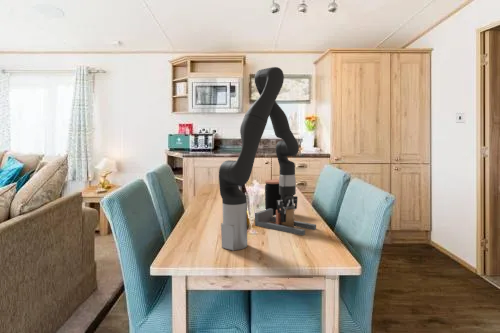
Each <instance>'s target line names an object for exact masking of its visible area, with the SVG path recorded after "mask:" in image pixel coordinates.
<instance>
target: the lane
mask: <svg viewBox="0 0 500 333" xmlns="http://www.w3.org/2000/svg"><path fill="white" fill-rule="evenodd" d="M254 226H256V227H260V228H265V229H271V230H275V231H279V232H280V231H281V232H284V233H289V234H294V235H299V236H304V235H306V229H307V230H312V231H315V230H317V224H315V223H309V222H305V221H298V220H294V227H288V226H283V225H278V224H276V217H274V215H273V209H271V208H269V209H266V210H265V209H264V210H260V211H258V212H257V211H256V212H254ZM302 228H303V229H302Z"/></svg>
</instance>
